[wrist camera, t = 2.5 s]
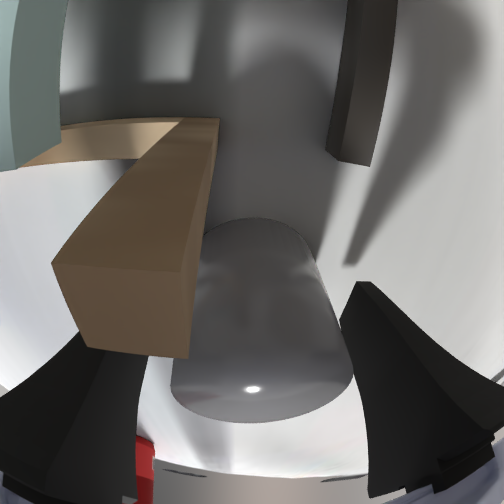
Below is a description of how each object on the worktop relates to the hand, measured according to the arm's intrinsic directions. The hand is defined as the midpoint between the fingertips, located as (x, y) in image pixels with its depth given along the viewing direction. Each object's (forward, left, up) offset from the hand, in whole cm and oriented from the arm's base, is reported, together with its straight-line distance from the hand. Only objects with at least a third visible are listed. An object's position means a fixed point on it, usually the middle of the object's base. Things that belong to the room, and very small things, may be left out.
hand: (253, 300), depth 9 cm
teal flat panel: (-9, +11, +4) cm, 15 cm away
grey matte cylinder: (0, 0, -2) cm, 2 cm away
